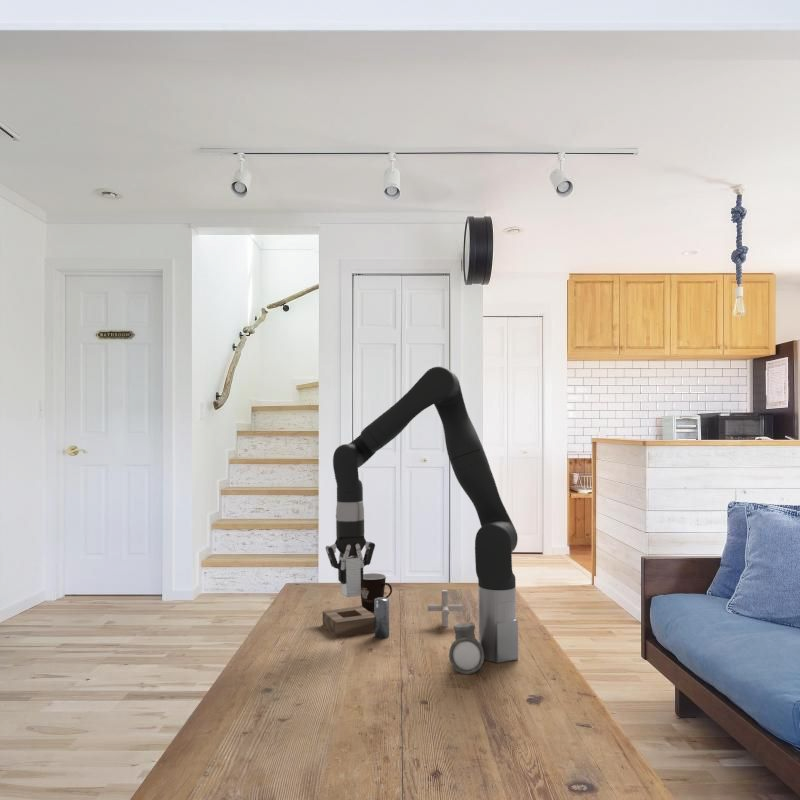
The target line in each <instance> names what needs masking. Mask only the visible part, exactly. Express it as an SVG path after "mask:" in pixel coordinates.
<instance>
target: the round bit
mask: <svg viewBox="0 0 800 800" xmlns="http://www.w3.org/2000/svg"><path fill="white" fill-rule="evenodd" d="M385 597H386V596H384V597H379V598H375V599H374V611H373V612H374V613H373V614H374V626H375V632H374V638H376V639H378V640H379V639H380V640H381V639H388V638H390V597H388V598H385Z"/></svg>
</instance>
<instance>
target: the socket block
mask: <svg viewBox="0 0 800 800" xmlns="http://www.w3.org/2000/svg"><path fill="white" fill-rule="evenodd" d="M323 625H324V626H325V627H326V628H325V627H324V626H323ZM322 626H323V627H324V628H325V629H326V630H327V631H329V632H330V633H331V632H332V633H333V634H334V635H335V637H336V638H341V636H342V637H348V635H349V636H353V635H355V636H356V635H360V634H367V633H375V626H374V613H372V611H368V610H366V609H365V608H363V607H362V605H360V606H359V605H357V606H353V607H344V608H335V609H328V610H322ZM332 633H331V634H332ZM334 635H333V636H334Z"/></svg>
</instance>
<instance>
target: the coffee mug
mask: <svg viewBox="0 0 800 800" xmlns="http://www.w3.org/2000/svg"><path fill="white" fill-rule="evenodd" d="M386 579H387V577H386V574H383V573H375V572H371V573H363V580H362V581H361V595H360V599H361V600H360V601H361V606H362V607H363V608H365V609H366V610H368V611H369V612H374V599H375V598H379V597H385V598H390V596H391V595H392V593H393V587H392V585H391V584H390V583H388V582H386ZM386 586H387V587H388V588H389V593H388V594H387V595H386V596H385V588H386Z"/></svg>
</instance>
